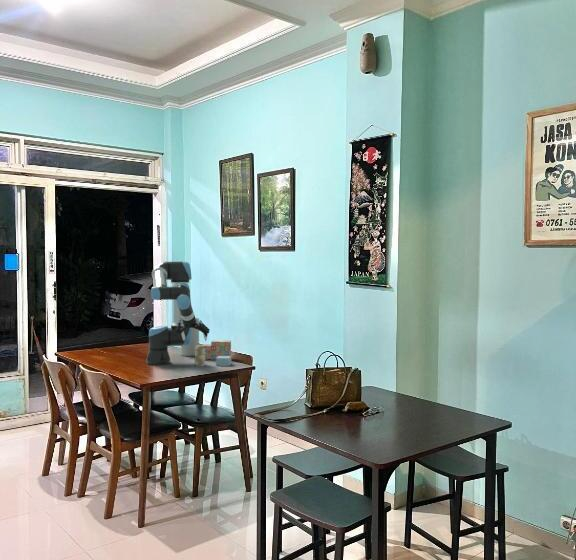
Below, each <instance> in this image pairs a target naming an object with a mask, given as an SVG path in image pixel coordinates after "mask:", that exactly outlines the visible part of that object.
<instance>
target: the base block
mask: <svg viewBox="0 0 576 560" xmlns="http://www.w3.org/2000/svg"><path fill="white" fill-rule="evenodd" d="M231 364H232V355H231V356H218V357H217V358H216V360H215V366H216V365H218V366H219V367H229V366H230V365H231ZM218 366H217V367H218Z"/></svg>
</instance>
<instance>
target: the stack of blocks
mask: <svg viewBox="0 0 576 560" xmlns="http://www.w3.org/2000/svg"><path fill="white" fill-rule="evenodd" d="M199 345H205V360H208V359H211V360H212V361H213V360H215V361H216V358H217V357H218V356H231V357H232V340H226V339H223V340H222V339H220V340H215V339H214V340H211V341H210V344H207V343H206V344H204V343H203V344H202V343H201V344H200V343H199Z"/></svg>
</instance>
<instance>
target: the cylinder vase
mask: <svg viewBox="0 0 576 560" xmlns="http://www.w3.org/2000/svg"><path fill="white" fill-rule="evenodd" d="M195 318H196V321H197V322H199V321H200V318H198V317H195ZM195 327H196V326H195ZM197 345H200V331H199V330H198V329H195V328H192V334H191V341H190V344H189V345H185V346H180V355H181V356H184V357H195V346H197Z"/></svg>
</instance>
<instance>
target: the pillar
mask: <svg viewBox="0 0 576 560" xmlns="http://www.w3.org/2000/svg"><path fill="white" fill-rule="evenodd" d="M205 362H206V359H205V345H200V344H199V345H197V346H195V356H194V366H195V365H198V366H197V367H203V366H205V365H206V363H205ZM204 364H205V365H204Z"/></svg>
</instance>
